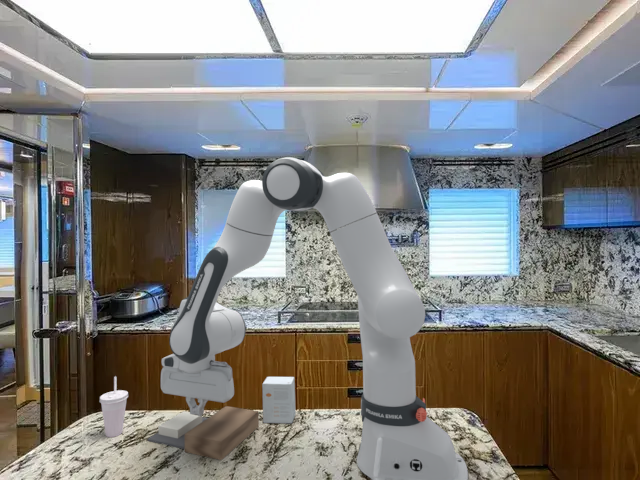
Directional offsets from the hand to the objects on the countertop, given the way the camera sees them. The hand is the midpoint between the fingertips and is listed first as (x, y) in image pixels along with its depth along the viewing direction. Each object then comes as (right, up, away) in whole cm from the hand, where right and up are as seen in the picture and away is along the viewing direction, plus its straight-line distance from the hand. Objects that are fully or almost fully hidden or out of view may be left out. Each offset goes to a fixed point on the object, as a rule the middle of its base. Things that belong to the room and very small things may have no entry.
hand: (197, 414), depth 93 cm
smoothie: (-21, -5, 0) cm, 22 cm away
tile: (-5, -2, +2) cm, 6 cm away
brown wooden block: (+8, -5, -3) cm, 9 cm away
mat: (-3, -5, +1) cm, 6 cm away
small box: (+20, -5, +7) cm, 22 cm away
